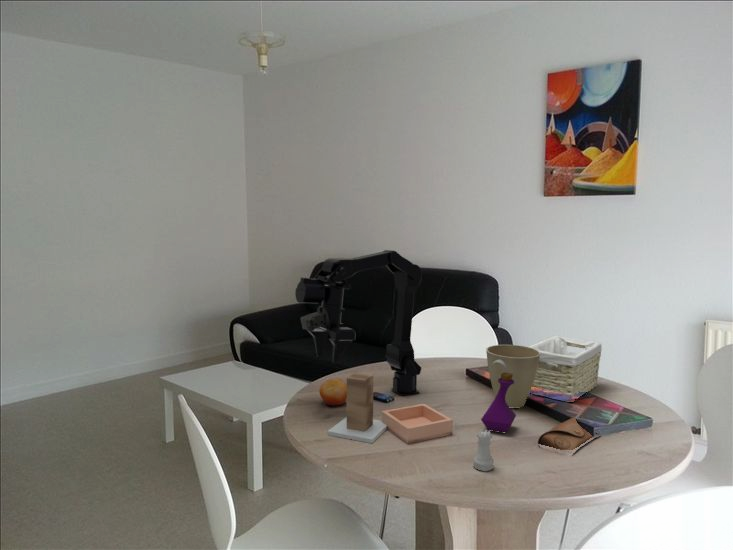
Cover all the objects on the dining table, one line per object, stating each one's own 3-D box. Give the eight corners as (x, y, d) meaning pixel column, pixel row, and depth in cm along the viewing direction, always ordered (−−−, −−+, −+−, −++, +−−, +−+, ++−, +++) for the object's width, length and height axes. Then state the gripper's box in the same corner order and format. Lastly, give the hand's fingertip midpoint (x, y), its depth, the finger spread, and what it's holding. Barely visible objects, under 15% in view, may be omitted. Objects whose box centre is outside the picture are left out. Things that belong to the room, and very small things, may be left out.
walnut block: (355, 421, 141) (355, 372, 140) (372, 424, 139) (373, 375, 138) (346, 428, 136) (346, 377, 135) (364, 431, 134) (365, 380, 133)
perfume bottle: (516, 426, 141) (518, 358, 139) (510, 437, 134) (513, 366, 132) (487, 422, 144) (489, 355, 142) (480, 432, 137) (482, 362, 135)
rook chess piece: (470, 463, 120) (471, 428, 119) (490, 462, 120) (491, 427, 120) (476, 472, 116) (477, 436, 115) (496, 471, 116) (498, 435, 115)
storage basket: (573, 406, 156) (575, 356, 155) (520, 394, 167) (522, 347, 166) (601, 387, 174) (604, 342, 173) (552, 377, 185) (554, 334, 183)
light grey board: (348, 418, 146) (348, 415, 146) (390, 425, 141) (390, 422, 141) (327, 434, 135) (327, 431, 135) (372, 443, 130) (372, 439, 130)
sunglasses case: (572, 457, 123) (559, 429, 124) (546, 464, 127) (533, 436, 129) (603, 435, 136) (590, 409, 137) (578, 442, 140) (566, 417, 142)
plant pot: (480, 409, 153) (481, 354, 152) (489, 393, 167) (490, 342, 165) (535, 417, 148) (538, 359, 146) (540, 400, 161) (542, 347, 160)
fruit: (350, 392, 163) (348, 374, 158) (347, 414, 156) (345, 395, 151) (323, 391, 163) (320, 373, 159) (319, 413, 157) (316, 394, 152)
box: (423, 417, 147) (424, 403, 147) (452, 434, 136) (452, 419, 135) (381, 425, 141) (381, 411, 141) (407, 444, 130) (407, 428, 129)
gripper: (291, 298, 154) (286, 353, 155) (322, 308, 139) (316, 368, 139) (325, 299, 160) (320, 352, 161) (359, 309, 145) (353, 367, 146)
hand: (326, 359), depth 152 cm, fingers open, 9 cm apart
